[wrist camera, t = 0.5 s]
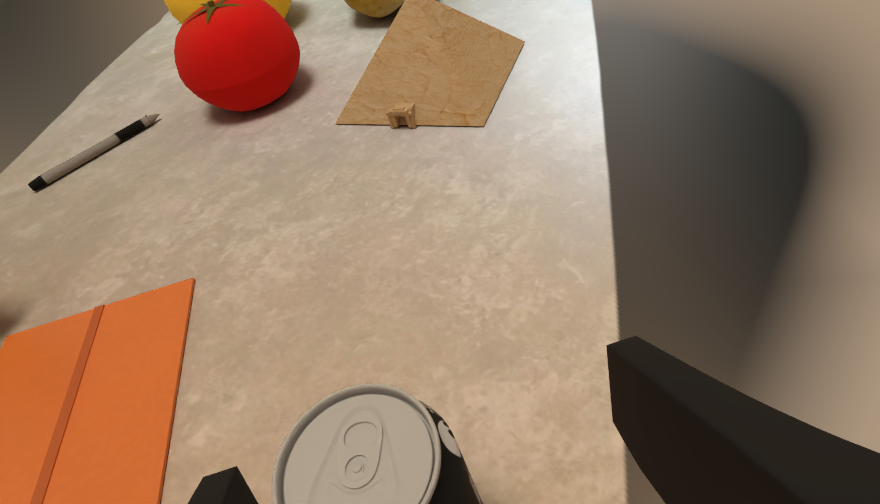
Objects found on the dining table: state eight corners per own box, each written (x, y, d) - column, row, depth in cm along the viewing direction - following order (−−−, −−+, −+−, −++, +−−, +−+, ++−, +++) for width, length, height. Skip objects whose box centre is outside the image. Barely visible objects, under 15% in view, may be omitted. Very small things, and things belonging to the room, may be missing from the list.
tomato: (315, 104, 61) (272, 1, 53) (201, 139, 61) (140, 42, 53) (311, 59, 70) (274, -35, 62) (212, 89, 70) (161, -1, 62)
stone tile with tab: (333, 128, 57) (295, 37, 50) (395, 48, 67) (371, -37, 60) (481, 131, 50) (462, 28, 44) (524, 42, 61) (515, -53, 54)
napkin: (156, 529, 30) (152, 527, 30) (-119, 617, 30) (-126, 616, 30) (195, 279, 44) (192, 276, 44) (9, 338, 44) (5, 335, 44)
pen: (33, 190, 61) (25, 181, 61) (161, 116, 68) (155, 107, 67) (36, 194, 61) (27, 185, 60) (165, 119, 67) (159, 110, 66)
